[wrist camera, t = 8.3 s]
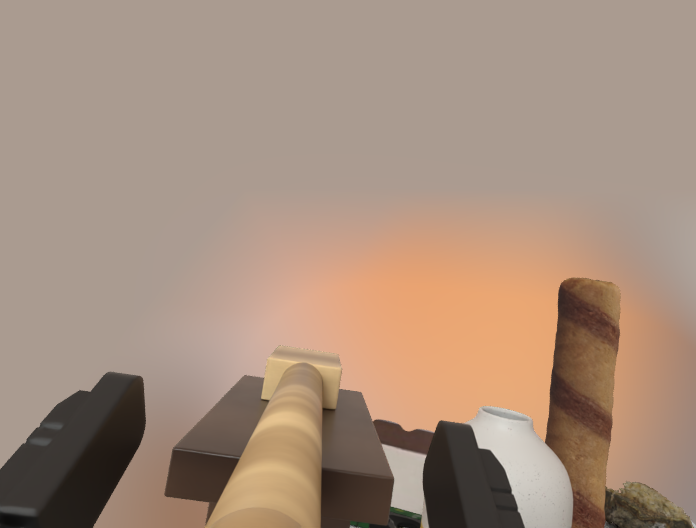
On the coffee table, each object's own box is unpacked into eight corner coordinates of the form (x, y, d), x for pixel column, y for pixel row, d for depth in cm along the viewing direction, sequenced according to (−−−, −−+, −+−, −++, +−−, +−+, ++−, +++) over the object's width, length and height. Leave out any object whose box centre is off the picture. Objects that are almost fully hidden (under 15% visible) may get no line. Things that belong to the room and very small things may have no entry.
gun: (322, 515, 67) (338, 489, 77) (320, 525, 67) (337, 498, 77) (427, 546, 63) (431, 515, 73) (426, 556, 63) (429, 524, 73)
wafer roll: (520, 521, 79) (548, 277, 82) (574, 527, 80) (600, 285, 83) (554, 556, 68) (585, 275, 72) (615, 562, 69) (643, 285, 73)
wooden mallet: (273, 379, 25) (278, 344, 26) (333, 387, 26) (338, 353, 26) (84, 692, 5) (115, 527, 6) (366, 723, 6) (389, 563, 6)
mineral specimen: (659, 526, 86) (664, 475, 87) (710, 565, 73) (715, 505, 74) (585, 512, 87) (590, 462, 88) (622, 549, 74) (627, 490, 75)
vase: (591, 680, 45) (615, 445, 47) (434, 668, 43) (465, 425, 45) (514, 574, 62) (533, 404, 64) (398, 562, 60) (422, 389, 62)
